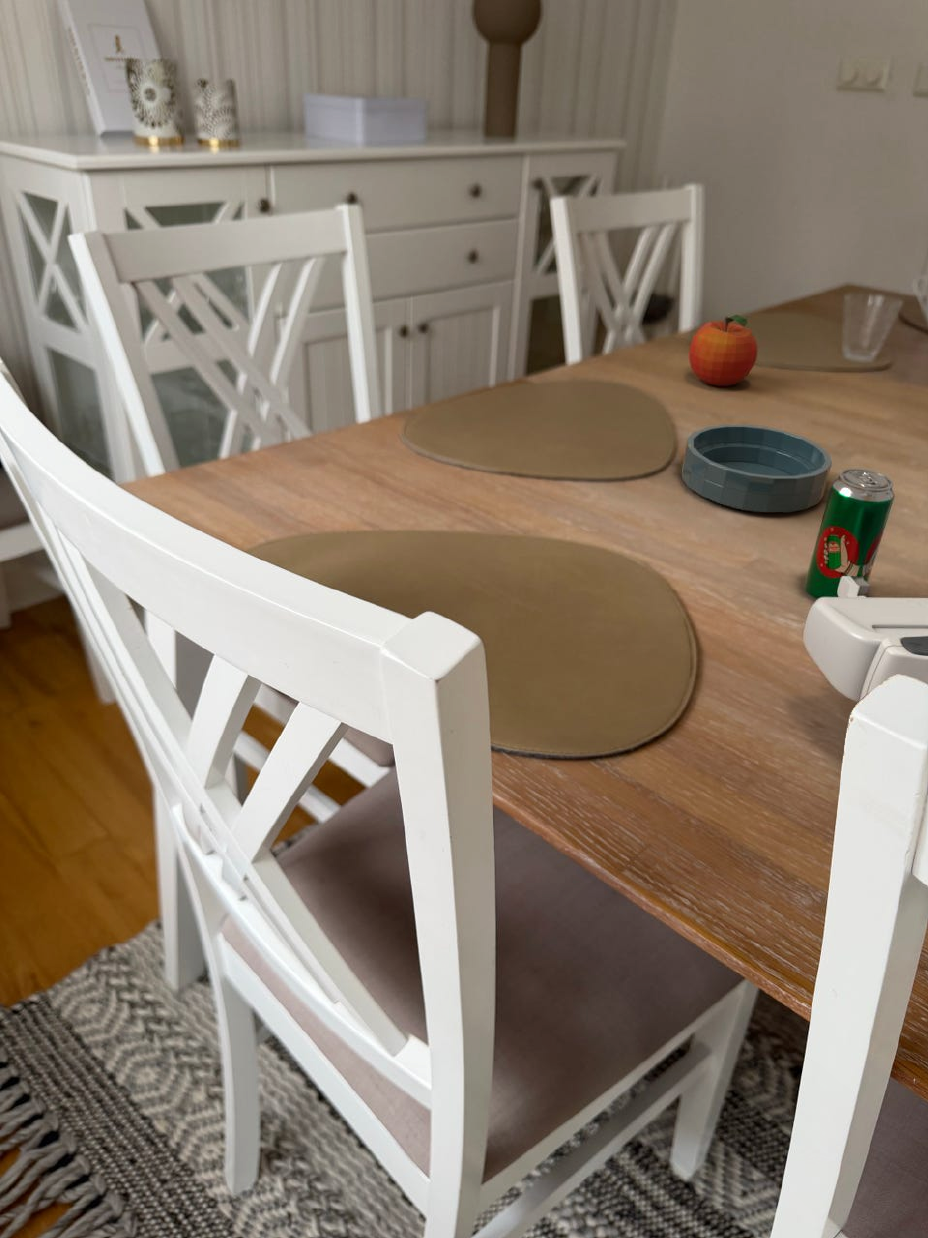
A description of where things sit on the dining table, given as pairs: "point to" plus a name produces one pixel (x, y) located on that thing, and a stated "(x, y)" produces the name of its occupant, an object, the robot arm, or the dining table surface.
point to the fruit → (723, 352)
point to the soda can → (849, 530)
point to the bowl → (755, 468)
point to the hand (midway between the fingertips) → (907, 584)
